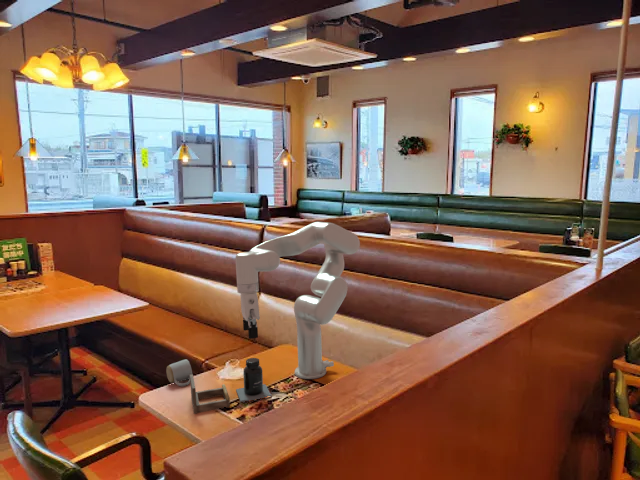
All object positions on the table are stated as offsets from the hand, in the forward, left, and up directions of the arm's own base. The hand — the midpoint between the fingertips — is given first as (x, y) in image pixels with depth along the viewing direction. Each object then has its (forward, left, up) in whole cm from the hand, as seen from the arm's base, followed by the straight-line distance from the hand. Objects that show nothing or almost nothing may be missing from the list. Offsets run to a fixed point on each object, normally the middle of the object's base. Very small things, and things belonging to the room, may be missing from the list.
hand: (250, 333), depth 169 cm
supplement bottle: (0, 0, -22) cm, 22 cm away
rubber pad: (0, +1, -23) cm, 23 cm away
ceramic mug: (+24, -21, -23) cm, 40 cm away
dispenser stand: (+15, +2, -23) cm, 27 cm away
